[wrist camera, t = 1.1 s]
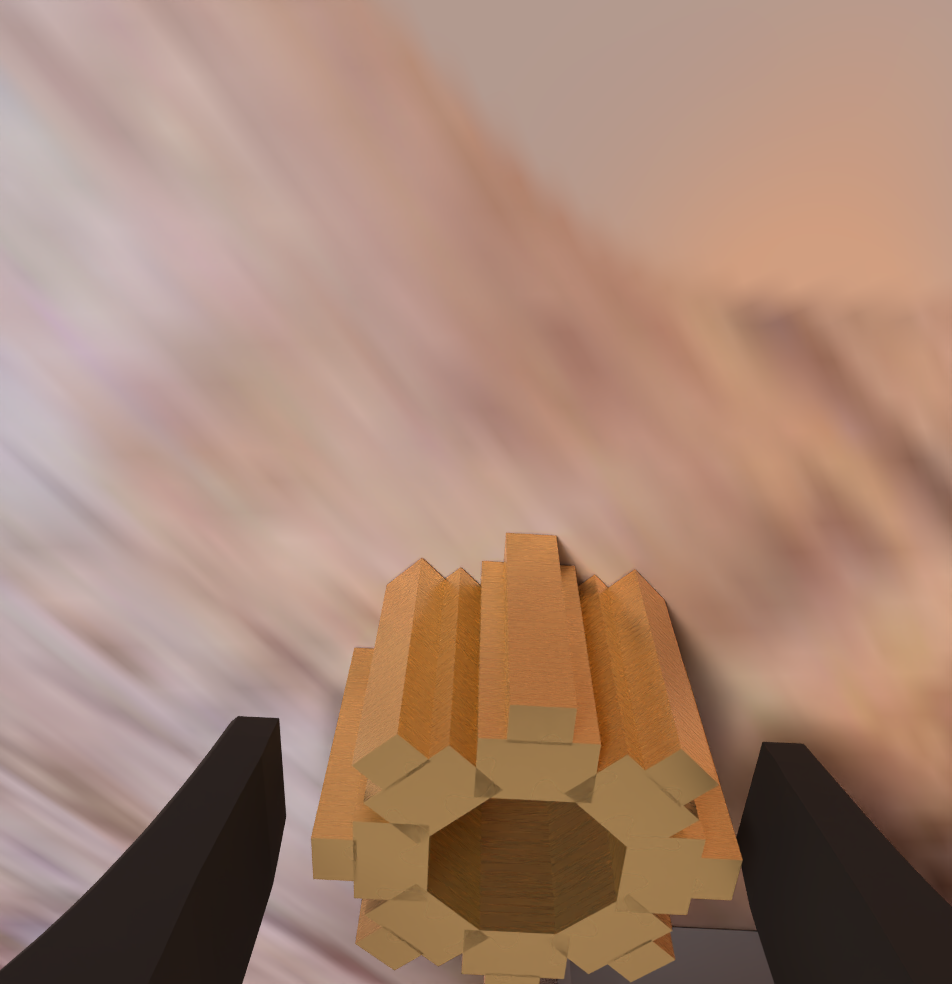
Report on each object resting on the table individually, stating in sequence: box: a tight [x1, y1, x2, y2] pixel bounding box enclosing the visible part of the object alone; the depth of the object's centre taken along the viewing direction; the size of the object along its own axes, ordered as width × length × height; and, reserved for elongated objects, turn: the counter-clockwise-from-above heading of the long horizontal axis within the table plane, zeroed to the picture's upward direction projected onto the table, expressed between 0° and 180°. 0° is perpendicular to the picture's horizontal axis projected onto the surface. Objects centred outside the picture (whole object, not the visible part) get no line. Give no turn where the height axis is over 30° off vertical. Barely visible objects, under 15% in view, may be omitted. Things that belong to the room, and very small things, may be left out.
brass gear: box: [311, 533, 743, 984], centre depth 13 cm, size 6×6×4 cm
